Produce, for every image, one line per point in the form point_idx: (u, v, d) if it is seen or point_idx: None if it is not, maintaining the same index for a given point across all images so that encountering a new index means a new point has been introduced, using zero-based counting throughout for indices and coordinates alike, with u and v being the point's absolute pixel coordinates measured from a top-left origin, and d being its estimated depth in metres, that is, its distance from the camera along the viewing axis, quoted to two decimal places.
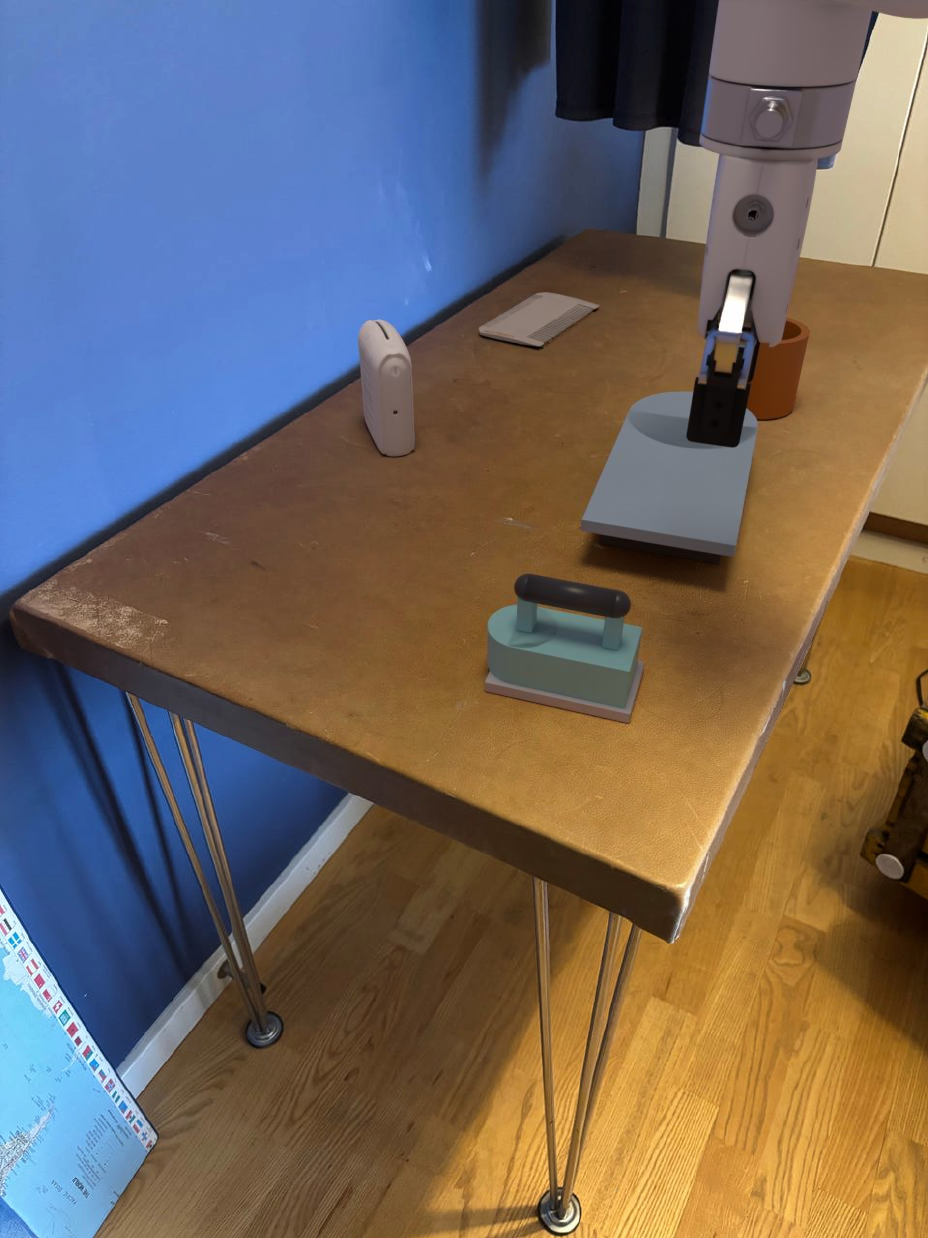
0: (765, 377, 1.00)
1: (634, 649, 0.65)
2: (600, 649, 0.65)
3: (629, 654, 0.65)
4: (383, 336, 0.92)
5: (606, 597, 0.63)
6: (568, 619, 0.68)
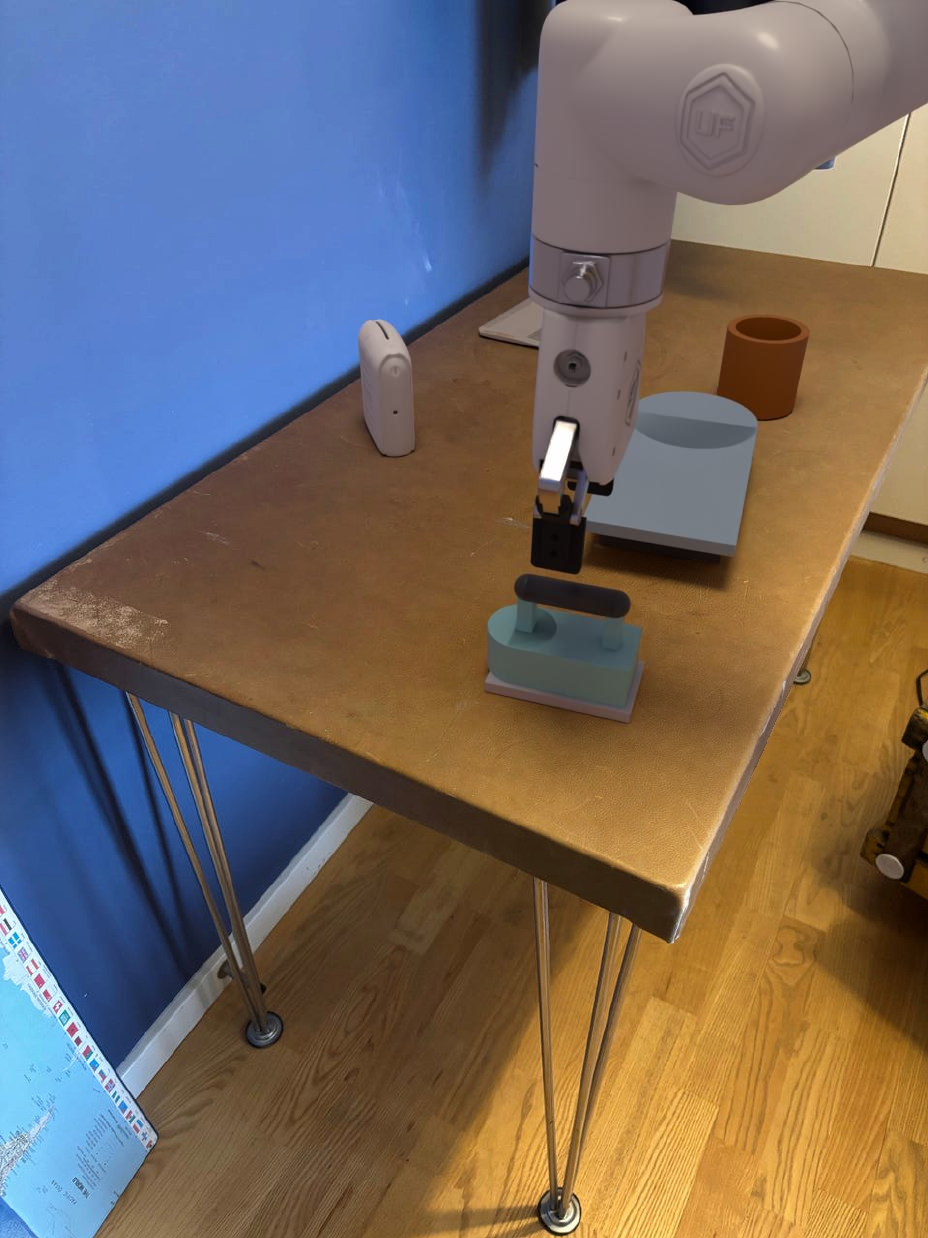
0: (765, 377, 1.00)
1: (634, 649, 0.65)
2: (600, 649, 0.65)
3: (629, 654, 0.65)
4: (383, 336, 0.92)
5: (606, 597, 0.63)
6: (568, 619, 0.68)
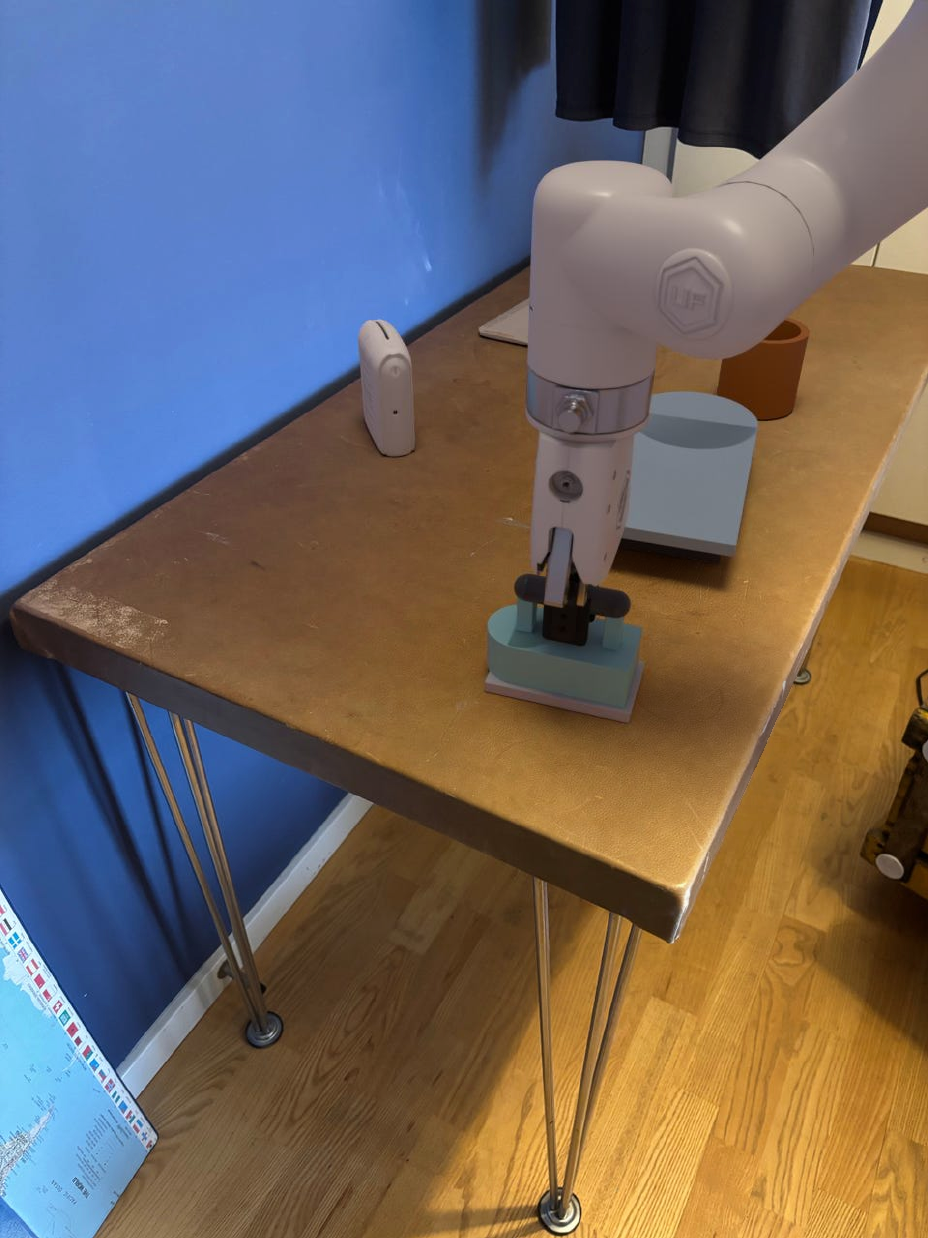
0: (765, 377, 1.00)
1: (634, 649, 0.65)
2: (600, 649, 0.65)
3: (629, 654, 0.65)
4: (383, 336, 0.92)
5: (606, 597, 0.63)
6: None
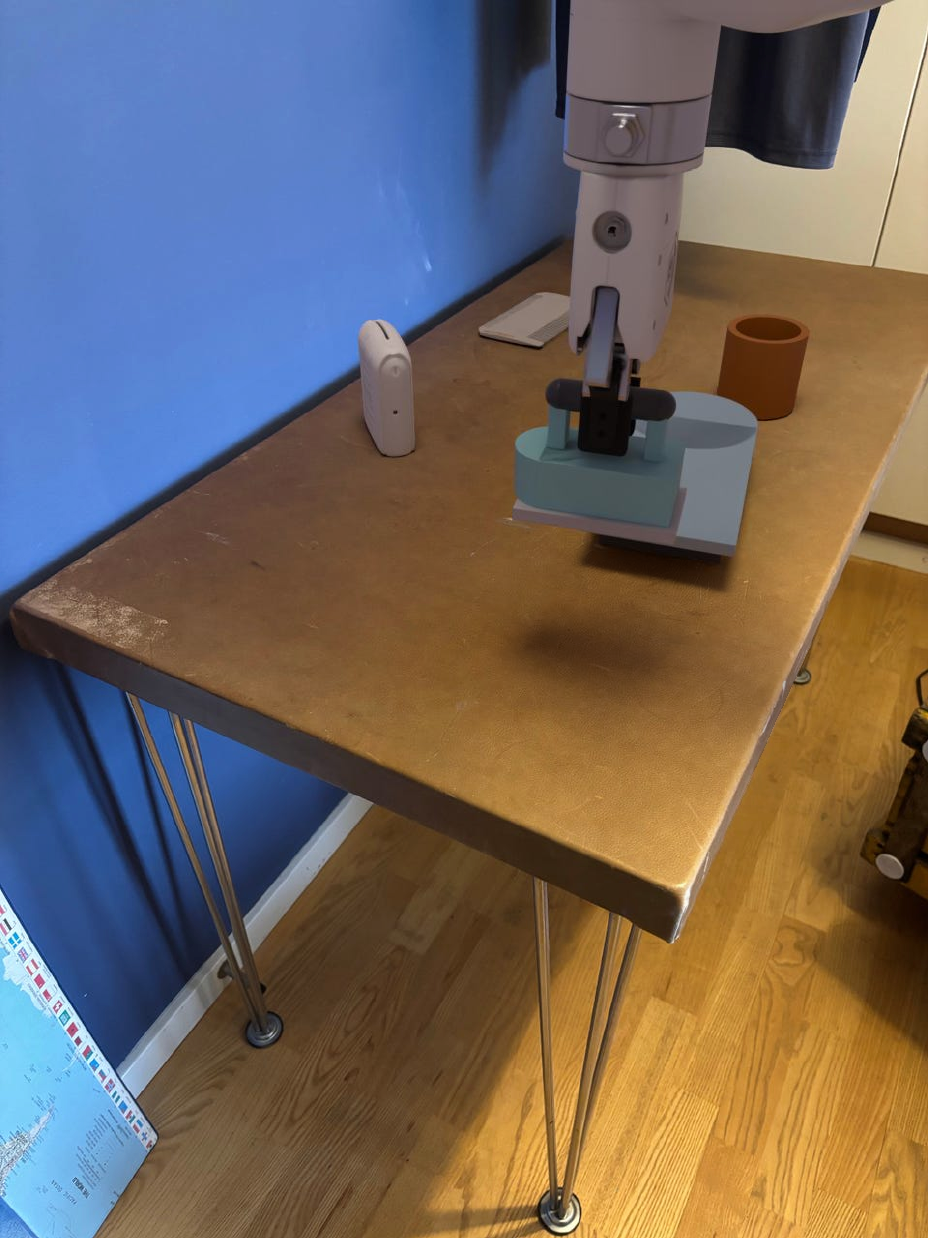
0: (765, 377, 1.00)
1: (679, 461, 0.59)
2: (641, 461, 0.59)
3: (674, 465, 0.59)
4: (383, 336, 0.92)
5: (649, 395, 0.57)
6: None
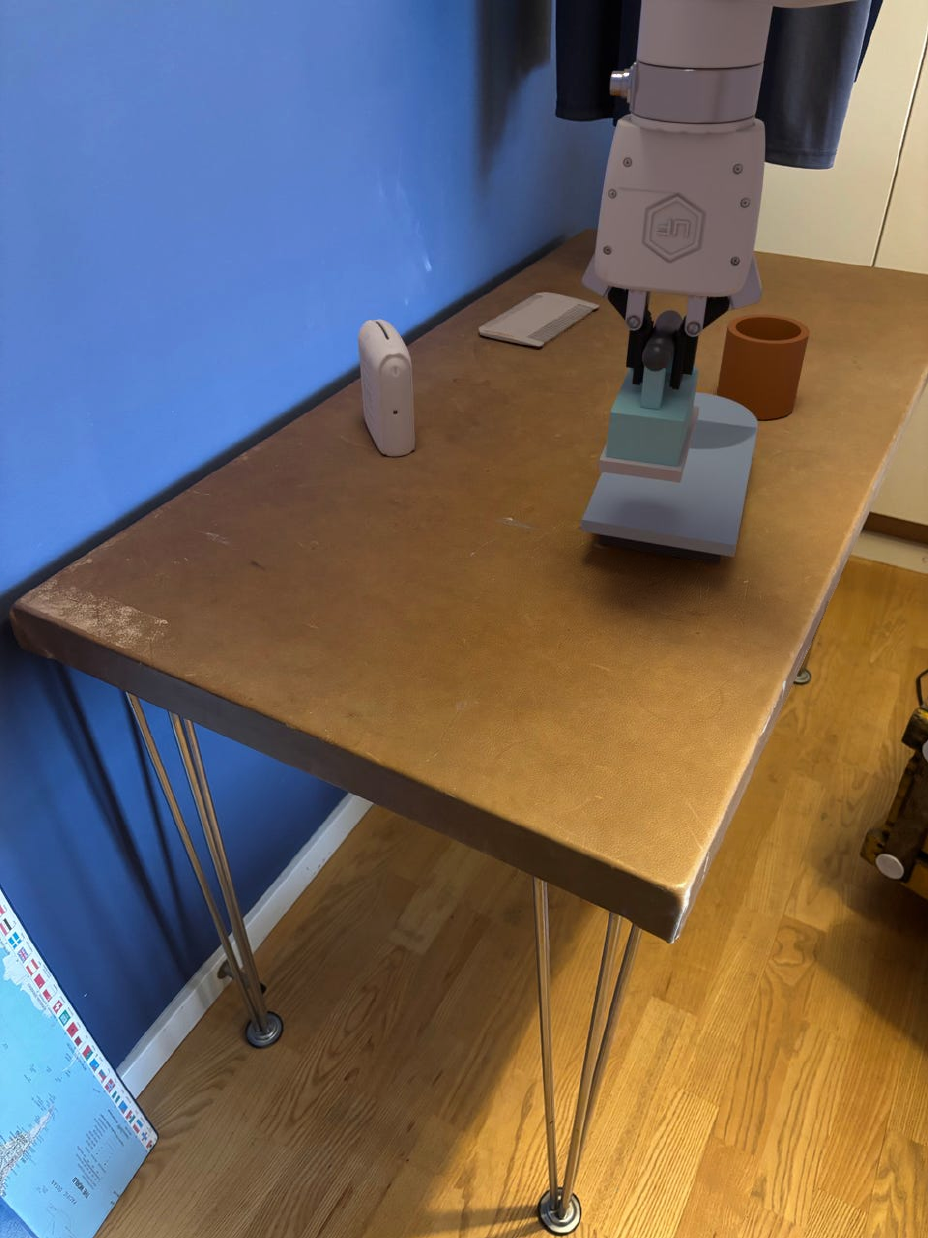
0: (765, 377, 1.00)
1: (645, 415, 0.64)
2: (639, 400, 0.66)
3: (635, 412, 0.64)
4: (383, 336, 0.92)
5: (652, 341, 0.63)
6: (681, 387, 0.67)
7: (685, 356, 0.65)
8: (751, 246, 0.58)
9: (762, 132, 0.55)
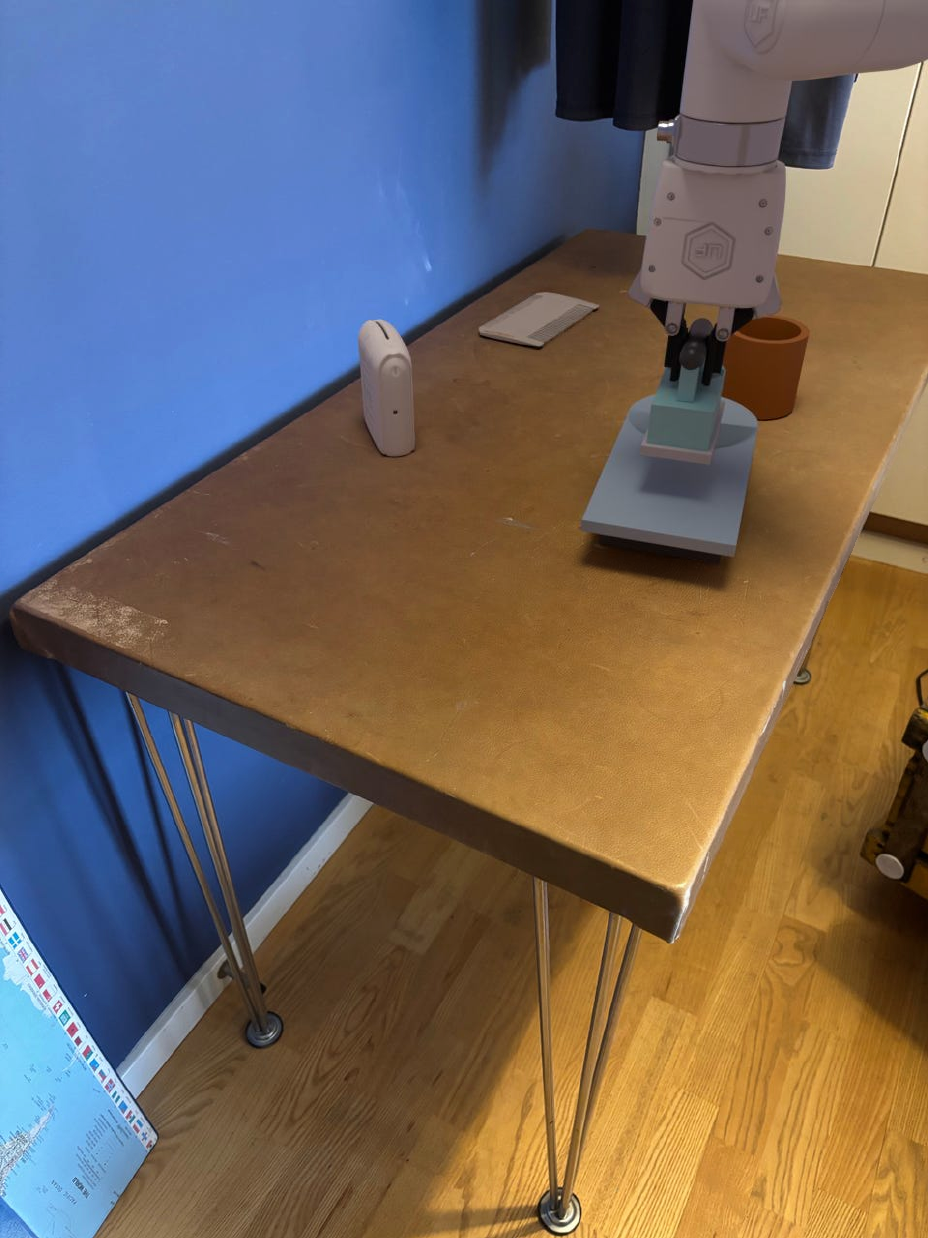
0: (765, 377, 1.00)
1: (681, 407, 0.76)
2: (675, 394, 0.78)
3: (673, 404, 0.76)
4: (383, 336, 0.92)
5: (688, 344, 0.75)
6: (711, 384, 0.79)
7: (715, 357, 0.76)
8: (773, 266, 0.69)
9: (783, 173, 0.66)
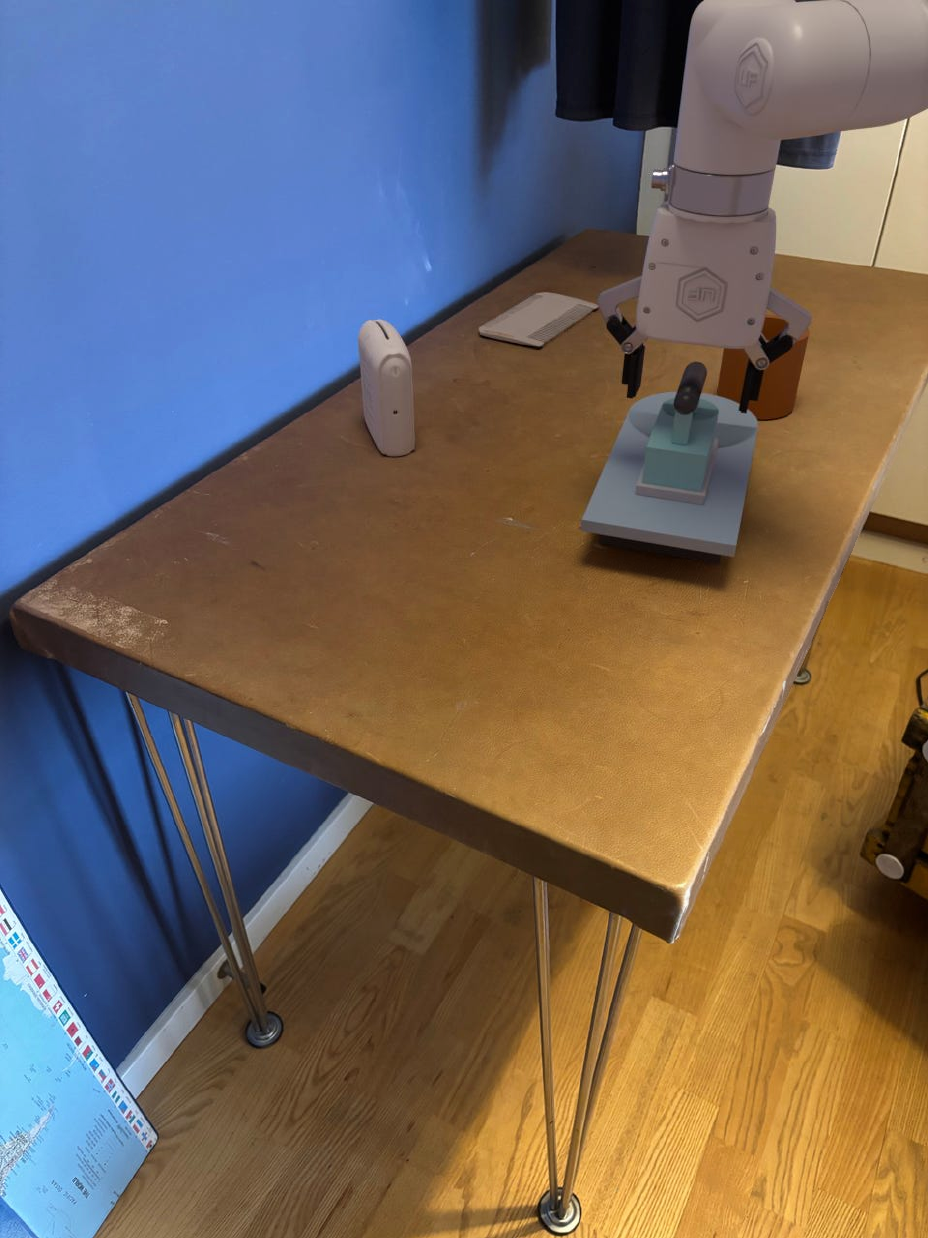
0: (765, 377, 1.00)
1: (675, 449, 0.78)
2: (670, 436, 0.80)
3: (667, 447, 0.78)
4: (383, 336, 0.92)
5: (682, 390, 0.77)
6: (705, 425, 0.81)
7: (753, 386, 0.77)
8: (764, 310, 0.71)
9: (774, 221, 0.68)
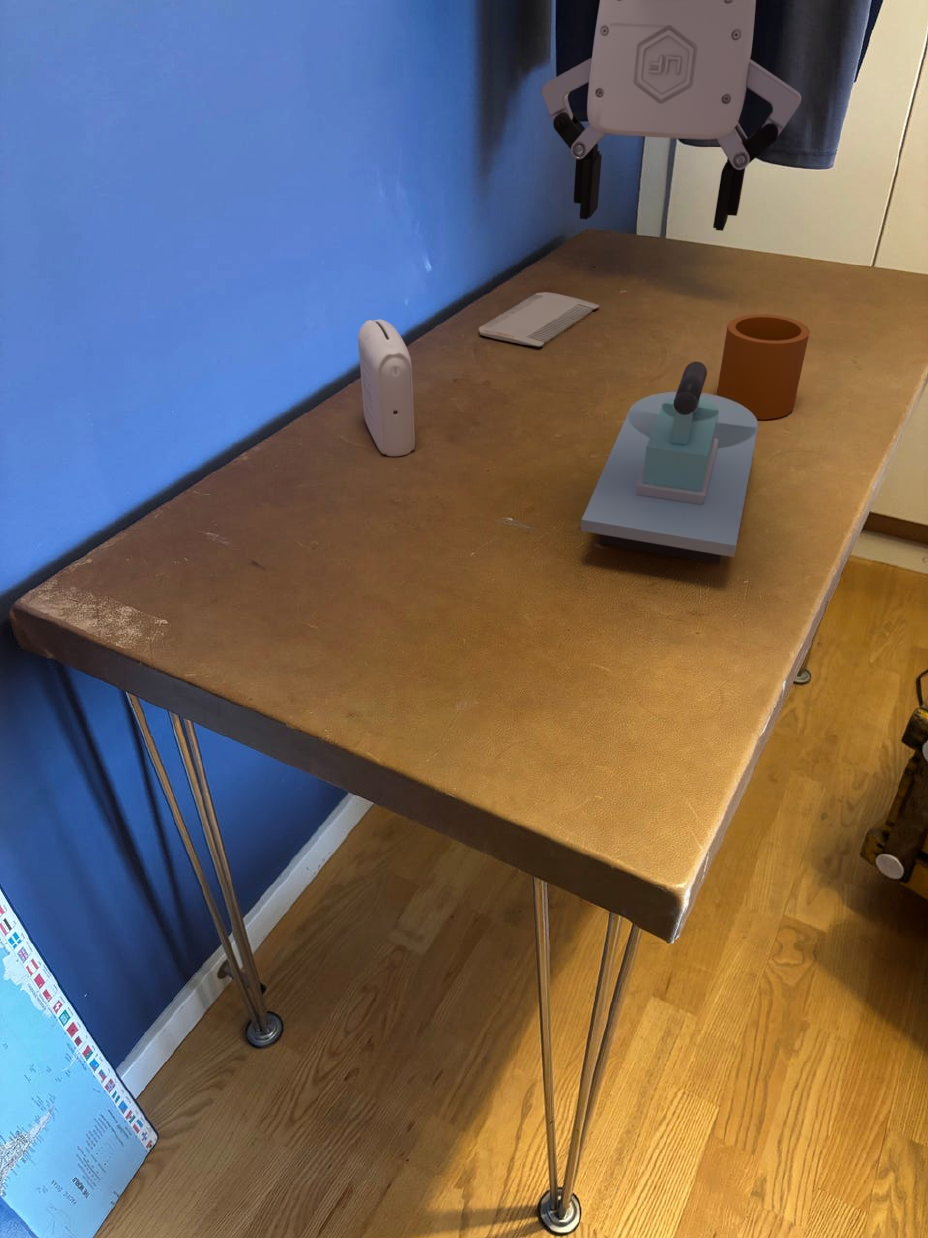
0: (765, 377, 1.00)
1: (675, 449, 0.78)
2: (670, 436, 0.80)
3: (667, 447, 0.78)
4: (383, 336, 0.92)
5: (682, 390, 0.77)
6: (705, 425, 0.81)
7: (730, 194, 0.63)
8: (742, 83, 0.58)
9: None
